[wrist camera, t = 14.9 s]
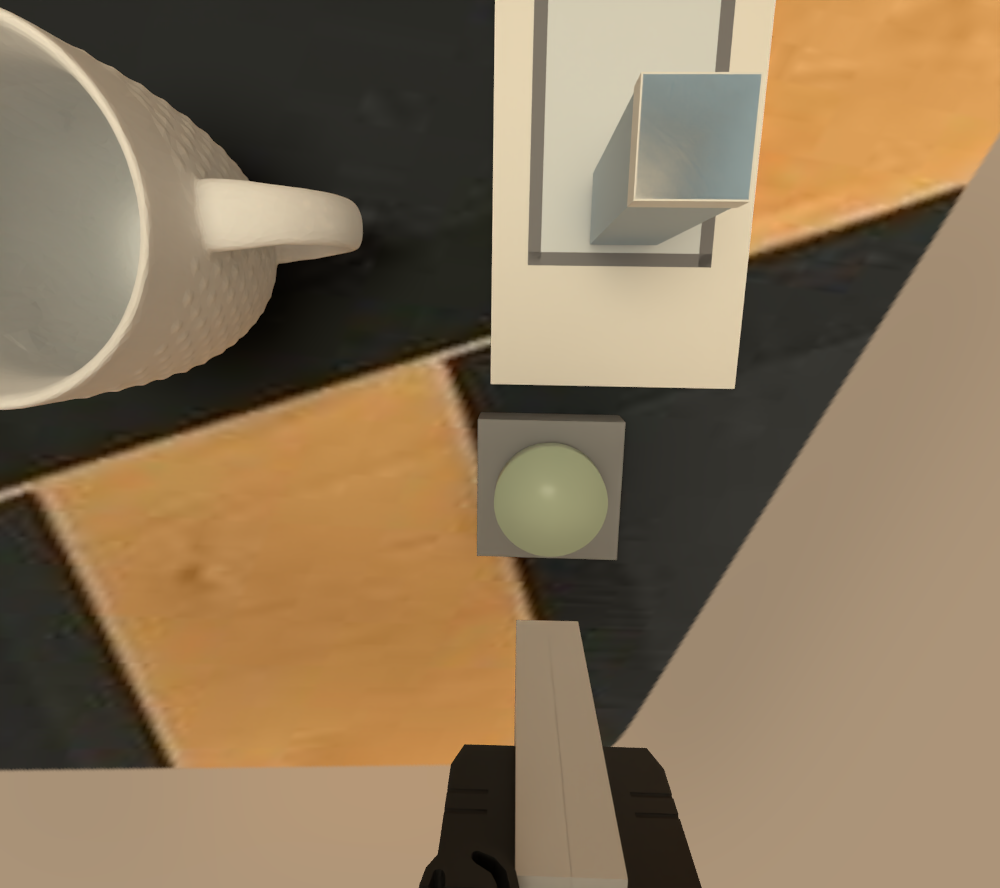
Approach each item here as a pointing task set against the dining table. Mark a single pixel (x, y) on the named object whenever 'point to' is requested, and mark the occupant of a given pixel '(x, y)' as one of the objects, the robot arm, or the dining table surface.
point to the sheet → (568, 198)
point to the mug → (128, 229)
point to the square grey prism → (676, 156)
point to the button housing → (522, 430)
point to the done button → (550, 500)
